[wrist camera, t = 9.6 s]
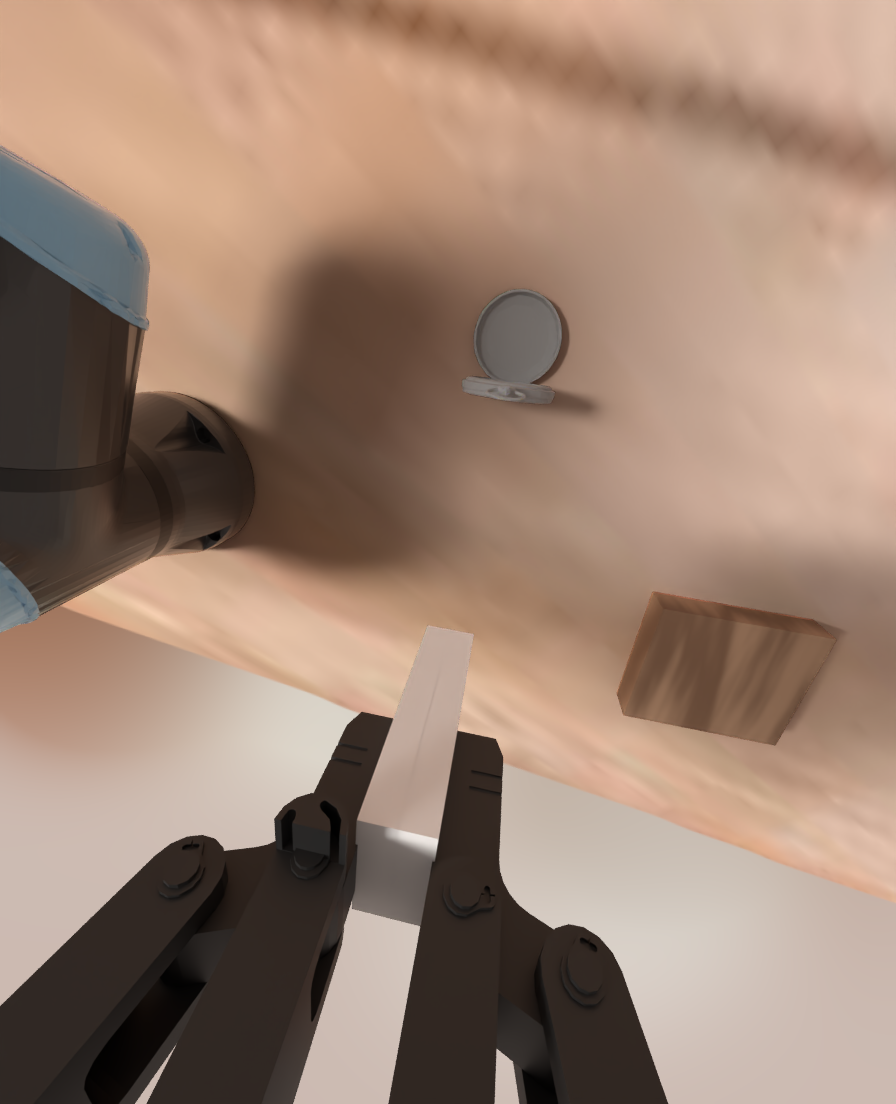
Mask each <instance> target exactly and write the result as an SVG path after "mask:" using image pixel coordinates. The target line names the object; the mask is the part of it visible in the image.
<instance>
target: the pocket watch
mask: <svg viewBox="0 0 896 1104" xmlns="http://www.w3.org/2000/svg"><path fill="white" fill-rule="evenodd" d="M561 341H562V328H561V322H560V319H559V316H558V314H557V311H556V310H555V308H554V306H553V305H552V304H551V302H550V301H549V300H547V299H546V298H545V297H544V296H543V295H541V294H539V293H537V292H535V291H532V290H526V289H514V290H510V291H507V292H504V293H502V294H501V295H499V296H497V297H496V298H494V299H493V300H492V301H491V302H489V304H488V305H487V306H486V307H485V308H484V309H483V311H482V313H481V315H480V316H479V319H478V321H477V324H476V327H475V332H474V350H475V354H476V358H477V360H478V362H479V365H480V366H481V367H482V369H483V370H484V372H485V373H486V374H487V375H488V376H489V377H490V378H486V377H476V376H469V377H467V378H466V379H463V381H462V387H463V391H464V392H466V393H468V394H472V395H477V396H482V397H488V398H493V399H499V400H504V401H513V402H520V403H533V404H549V403H551V402H552V400H553V399H554V395H555V392H554V391H552V389H551V388H550V387H548V386H542V385H536V384H530V383H531V382H533V381H535V380H537V379H539V378H540V377H541V376H542V375H544V374H545V373H546V372H547V371H548V370H549V369H550V367H551V366H552V364H553V363H554V361H555V360H556V358H557V355H558V352H559V350H560V347H561Z"/></svg>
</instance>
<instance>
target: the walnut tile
mask: <svg viewBox="0 0 896 1104" xmlns="http://www.w3.org/2000/svg"><path fill="white" fill-rule="evenodd" d="M836 640H837V639H836V638H834V637H833V636H832V635H831V634H830V633H828V632H827V631H826V630H825V629H824V628H822V627H821V626H820V625H819V624H818V623H816V622H815V621H814V620H812V619H806V618H801V617H795V616H789V615H784V614H778V613H772V612H767V611H761V610H755V609H749V608H744V607H738V606H732V605H727V604H721V603H715V602H710V601H704V600H698V599H692V598H687V597H681V596H675V595H670V594H664V593H658V592H652V595H651V598H650V601H649V604H648V606H647V609H646V612H645V615H644V618H643V620H642V623H641V626H640V629H639V632H638V635H637V637H636V640H635V643H634V646H633V649H632V651H631V654H630V657H629V660H628V663H627V665H626V668H625V671H624V674H623V677H622V680H621V682H620V685H619V688H618V691H617V696H618V699H619V702H620V705H621V709H622V712H623V715H625V716H630V717H635V718H640V719H645V720H650V721H655V722H660V723H665V724H670V725H675V726H680V727H685V728H690V729H695V730H700V731H705V732H710V733H715V734H720V735H725V736H730V737H735V738H740V739H745V740H750V741H755V742H760V743H765V744H770V745H776V743H777V742H778V740H779V738H780V737H781V735H782V733H783V731H784V730H785V728H786V726H787V725H788V723H789V721H790V719H791V718H792V716H793V714H794V713H795V711H796V709H797V707H798V706H799V704H800V702H801V701H802V699H803V697H804V695H805V694H806V692H807V690H808V689H809V687H810V685H811V683H812V682H813V680H814V678H815V677H816V675H817V673H818V671H819V670H820V668H821V666H822V664H823V663H824V661H825V659H826V658H827V656H828V654H829V652H830V651H831V649H832V647H833V646H834V644H835V642H836Z"/></svg>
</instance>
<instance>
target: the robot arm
mask: <svg viewBox="0 0 896 1104" xmlns="http://www.w3.org/2000/svg"><path fill="white" fill-rule="evenodd" d="M149 272H150V264H149V258H148V254H147V251H146V248H145V246H144V244H143V243H142V241H141V239H140V238H139V236H138V235H137V234H136V232H135V231H134V230H133V229H132V228H131V227H130V226H129V225H128V224H127V223H126V222H125V221H124V220H122V219H121V218H120V217H119V216H117V215H116V214H114V213H113V212H111V211H110V210H108V209H106V208H105V207H103V206H102V205H100V204H99V203H97V202H95V201H94V200H92V199H91V198H89V197H87V196H86V195H84V194H82V193H81V192H79V191H77V190H76V189H74V188H72V187H71V186H69V185H67V184H66V183H64V182H62V181H61V180H59V179H57V178H56V177H54V176H52V175H51V174H49V173H47V172H46V171H44V170H42V169H41V168H39V167H37V166H35V165H34V164H32V163H30V162H29V161H27V160H25V159H23V158H22V157H20V156H18V155H17V154H15V153H13V152H12V151H10V150H8V149H7V148H5V147H3V146H1V145H0V633H1V632H3V631H5V630H7V629H10V628H12V627H14V626H17V625H19V624H26V623H30V622H32V621H34V620H36V619H37V618H38V616H40V615H42V614H44V613H46V612H48V611H50V610H52V609H54V608H55V607H57V606H59V605H61V604H63V603H65V602H67V601H69V600H71V599H73V598H75V597H77V596H79V595H81V594H82V593H84V592H86V591H88V590H90V589H92V588H94V587H96V586H98V585H100V584H102V583H104V582H105V581H107V580H109V579H111V578H113V577H115V576H117V575H119V574H121V573H123V572H125V571H127V570H129V569H130V568H132V567H134V566H136V565H138V564H140V563H142V562H144V561H146V560H148V559H150V558H152V557H158V556H167V555H176V554H185V553H194V552H200V551H204V550H208V549H210V548H213V547H215V546H217V545H219V544H221V543H222V542H224V541H226V540H228V539H229V538H231V537H232V536H234V535H235V534H236V533H237V532H239V531H240V529H241V528H242V527H243V526H244V524H245V523H246V521H247V519H248V517H249V515H250V513H251V510H252V506H253V501H254V479H253V473H252V469H251V465H250V462H249V459H248V457H247V454H246V452H245V450H244V448H243V446H242V444H241V443H240V441H239V439H238V438H237V436H236V435H235V433H234V432H233V431H232V429H231V428H230V427H229V426H228V425H227V424H226V422H225V421H224V420H223V419H222V418H221V417H219V416H218V415H217V414H216V413H215V412H214V411H212V410H211V409H210V408H208V407H207V406H205V405H204V404H202V403H200V402H199V401H197V400H195V399H193V398H190V397H188V396H185V395H182V394H178V393H173V392H164V391H159V392H142V393H135V390H136V383H137V377H138V370H139V364H140V358H141V352H142V345H143V339H144V333H145V330H148V328H149V321H148V319H147V318H146V312H147V296H148V282H149ZM473 637H474V634H471V633H466V632H461V631H456V630H450V629H445V628H440V627H434V626H429V625H427V628H426V631H425V634H424V636H423V639H422V642H421V645H420V647H419V650H418V653H417V656H416V658H415V661H414V664H413V667H412V669H411V672H410V675H409V678H408V680H407V683H406V686H405V689H404V691H403V694H402V697H401V700H400V702H399V705H398V708H397V711H396V713H395V716H394V719H393V718H388V717H384V716H379V715H374V714H369V713H365V712H361V713H360V714H359V715H358V716H357V717H356V718H354V719H353V720H352V721H351V722H350V723H349V724H348V725H347V726H346V728H345V730H344V732H343V734H342V736H341V738H340V741H339V743H338V746H336V749H335V751H334V753H333V755H332V757H331V760H330V761H329V763H328V765H327V767H326V769H325V771H324V773H323V775H322V777H321V779H320V781H319V784H318V785H317V788H316V789H315V792H314V793H310V794H307V795H304V796H301V797H297V798H296V799H294V800H293V801H291V802H290V803H288V804H287V805H285V806H284V807H283V808H282V810H281V811H280V812H279V814H278V815H277V816H276V817H275V819H274V821H275V838H276V841H275V842H273V843H270V844H268V845H264V846H259V847H254V848H246V849H237V850H228V851H224V849H223V847H222V846H221V845H220V844H219V842H218V841H217V840H216V839H214V838H211V837H207V836H204V835H198V836H190V837H185V838H183V839H181V840H178V841H176V842H174V843H171V844H170V845H169V846H167V847H166V848H164V849H163V850H162V851H161V852H159V853H158V854H157V855H155V856H154V857H153V858H152V859H151V860H150V861H149V862H148V863H147V864H146V865H145V866H144V867H143V868H142V869H141V870H140V871H139V872H138V873H137V874H136V875H135V876H134V877H133V878H132V879H131V880H130V881H129V882H128V883H126V885H125V886H123V887H122V889H120V890H119V891H118V892H117V893H116V894H115V895H114V896H113V897H112V898H111V899H110V900H109V901H108V902H107V903H106V904H105V905H104V906H103V907H102V908H101V909H100V910H99V911H98V912H97V913H96V914H95V915H94V916H93V917H91V918H90V919H89V920H88V921H87V923H85V924H84V925H83V926H82V927H81V928H80V929H79V930H78V931H77V932H76V933H75V934H74V935H73V936H72V937H71V938H70V939H69V940H68V941H67V942H66V943H65V944H64V945H63V946H62V947H61V948H60V949H59V950H58V951H57V952H56V953H55V954H53V955H52V956H51V957H50V958H49V959H48V960H47V961H46V962H45V963H44V964H43V965H42V966H41V967H40V968H39V969H38V970H37V971H36V972H35V973H34V974H33V975H32V976H31V977H30V978H29V979H28V980H27V981H26V982H25V983H24V984H23V985H22V986H20V987H19V988H18V989H17V990H16V991H15V992H14V993H13V994H12V995H11V996H10V997H9V998H8V999H7V1000H6V1001H5V1002H4V1003H3V1004H2V1005H1V1006H0V1104H135V1103H136V1101H137V1100H138V1098H139V1097H140V1095H141V1094H142V1093H143V1091H144V1090H145V1088H146V1087H147V1085H148V1084H149V1082H150V1081H151V1079H152V1078H153V1077H154V1075H155V1074H156V1073H157V1071H158V1070H159V1068H160V1066H161V1065H162V1064H163V1062H164V1061H165V1060H166V1058H167V1057H168V1055H169V1054H170V1052H171V1051H172V1050H173V1048H174V1047H175V1045H176V1044H177V1045H176V1047H175V1049H174V1051H173V1053H172V1055H171V1057H170V1059H169V1060H168V1062H167V1064H166V1066H165V1069H164V1070H163V1072H162V1074H161V1076H160V1079H159V1080H158V1082H157V1084H156V1086H155V1088H154V1090H153V1092H152V1094H151V1096H150V1098H149V1100H148V1102H147V1104H293V1102H294V1099H295V1096H296V1092H297V1089H298V1086H299V1083H300V1079H301V1076H302V1073H303V1069H304V1066H305V1063H306V1060H307V1057H308V1053H309V1050H310V1047H311V1044H312V1040H313V1037H314V1034H315V1030H316V1027H317V1024H318V1021H319V1017H320V1014H321V1011H322V1008H323V1005H324V1001H325V998H326V995H327V991H328V988H329V985H330V982H331V978H332V975H333V972H334V969H335V966H336V962H337V959H338V956H339V952H340V949H341V946H342V940H343V933H344V924H345V921H346V918H347V914H348V911H349V908H350V905H351V901H352V909H355V910H359V911H363V912H367V913H371V914H375V915H379V916H383V917H386V918H390V919H394V920H399V921H402V922H406V923H410V924H414V925H418V926H420V932H419V937H418V943H417V948H416V954H415V960H414V965H413V971H412V976H411V982H410V987H409V993H408V998H407V1004H406V1010H405V1015H404V1021H403V1027H402V1032H401V1037H400V1043H399V1048H398V1054H397V1060H396V1065H395V1070H394V1076H393V1082H392V1087H391V1092H390V1098H389V1104H494V1102H495V1073H496V1048H497V1049H498V1050H499V1051H501V1052H502V1053H503V1054H504V1055H506V1056H507V1057H508V1058H509V1059H510V1060H512V1061H513V1064H514V1070H515V1077H516V1084H517V1090H518V1097H519V1104H668V1102H667V1099H666V1096H665V1093H664V1090H663V1088H662V1085H661V1082H660V1079H659V1076H658V1073H657V1070H656V1068H655V1065H654V1062H653V1059H652V1056H651V1053H650V1051H649V1048H648V1045H647V1042H646V1039H645V1036H644V1033H643V1030H642V1028H641V1025H640V1022H639V1019H638V1016H637V1013H636V1010H635V1008H634V1005H633V1002H632V999H631V996H630V993H629V991H628V987H627V985H626V982H625V979H624V976H623V973H622V971H621V969H620V967H619V965H618V963H617V961H616V959H615V957H614V955H613V953H612V952H611V950H610V949H609V948H608V947H607V946H606V945H605V944H604V942H603V941H602V940H601V939H600V938H599V937H598V936H596V935H595V934H593V933H592V932H590V931H589V930H587V929H586V928H584V927H580V926H575V925H569V924H568V925H565V926H561V927H558V928H555V929H552V928H551V927H549V926H547V925H546V924H544V923H543V922H541V921H540V920H538V919H537V918H535V917H534V916H532V915H530V914H529V913H528V912H527V911H525V910H524V909H523V908H522V907H520V906H519V905H518V904H517V903H516V901H515V900H514V899H513V898H512V896H511V895H510V894H509V892H508V890H507V888H506V886H505V885H504V883H503V880H502V876H501V873H500V866H499V847H500V823H501V799H502V797H501V794H502V775H503V774H502V773H503V755H502V753H501V751H500V748H499V746H498V743H497V741H496V739H494V738H489V737H484V736H480V735H475V734H470V733H465V732H461V731H457V729H458V724H459V718H460V712H461V706H462V700H463V695H464V689H465V683H466V677H467V672H468V666H469V660H470V654H471V648H472V643H473Z"/></svg>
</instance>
